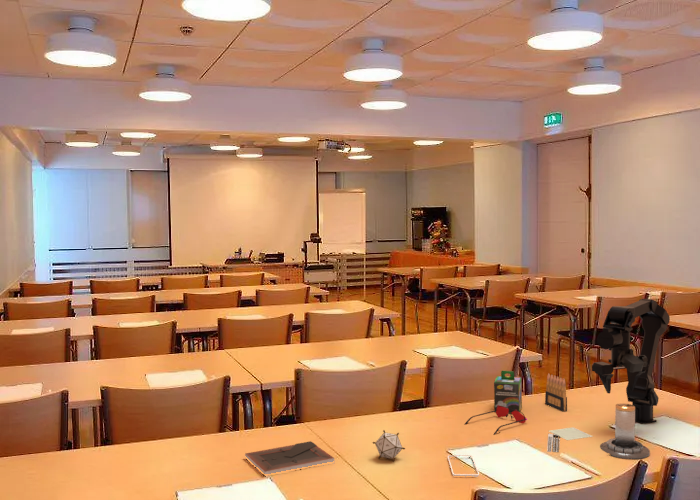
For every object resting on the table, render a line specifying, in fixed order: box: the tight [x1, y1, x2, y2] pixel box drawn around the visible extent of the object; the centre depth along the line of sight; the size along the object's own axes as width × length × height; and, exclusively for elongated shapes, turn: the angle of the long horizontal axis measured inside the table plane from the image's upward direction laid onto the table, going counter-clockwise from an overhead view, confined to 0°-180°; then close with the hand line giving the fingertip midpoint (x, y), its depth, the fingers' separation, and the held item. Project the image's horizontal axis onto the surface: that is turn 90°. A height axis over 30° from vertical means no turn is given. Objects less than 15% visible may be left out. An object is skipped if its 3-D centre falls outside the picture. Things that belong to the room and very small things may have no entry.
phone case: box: [447, 454, 480, 477], centre depth 198 cm, size 7×1×15 cm
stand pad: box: [548, 427, 594, 441], centre depth 225 cm, size 10×10×1 cm
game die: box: [371, 429, 406, 462], centre depth 205 cm, size 9×8×10 cm
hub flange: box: [599, 437, 651, 460], centre depth 210 cm, size 14×14×2 cm
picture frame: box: [244, 440, 335, 474], centre depth 204 cm, size 16×2×22 cm
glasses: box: [464, 405, 528, 436], centre depth 236 cm, size 14×16×5 cm
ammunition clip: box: [544, 372, 568, 413], centre depth 256 cm, size 11×2×12 cm, turn 21°
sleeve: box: [614, 403, 636, 448], centre depth 209 cm, size 6×6×13 cm
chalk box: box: [493, 370, 523, 414], centre depth 253 cm, size 9×9×15 cm
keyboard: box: [546, 432, 561, 453], centre depth 216 cm, size 17×6×2 cm, turn 163°
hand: (619, 391), depth 228 cm, fingers open, 9 cm apart
